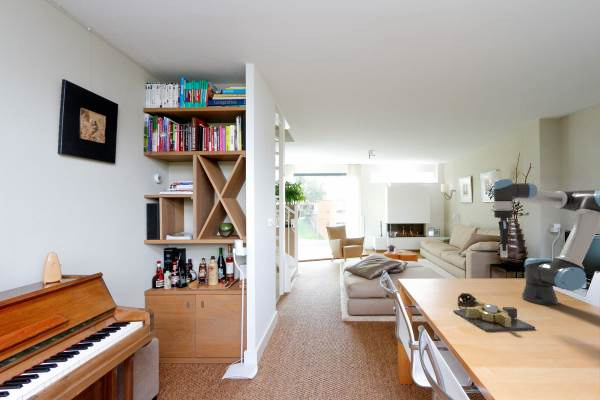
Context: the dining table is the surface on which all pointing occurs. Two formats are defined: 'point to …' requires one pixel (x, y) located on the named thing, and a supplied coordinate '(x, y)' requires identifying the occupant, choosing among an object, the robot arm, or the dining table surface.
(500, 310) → the ring nut
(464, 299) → the pottery mug
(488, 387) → the dining table surface
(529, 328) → the flange plate
